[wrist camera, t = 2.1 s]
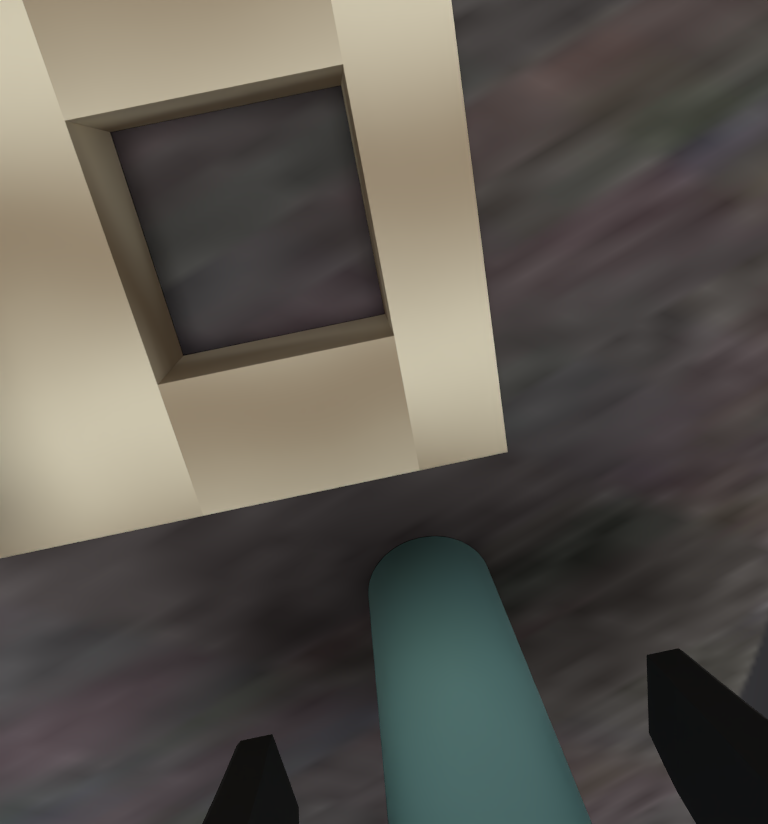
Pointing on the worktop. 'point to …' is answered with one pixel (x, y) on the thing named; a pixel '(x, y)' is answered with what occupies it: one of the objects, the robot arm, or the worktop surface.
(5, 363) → the station
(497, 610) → the peg
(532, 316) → the worktop surface
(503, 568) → the worktop surface
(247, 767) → the robot arm
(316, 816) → the worktop surface
